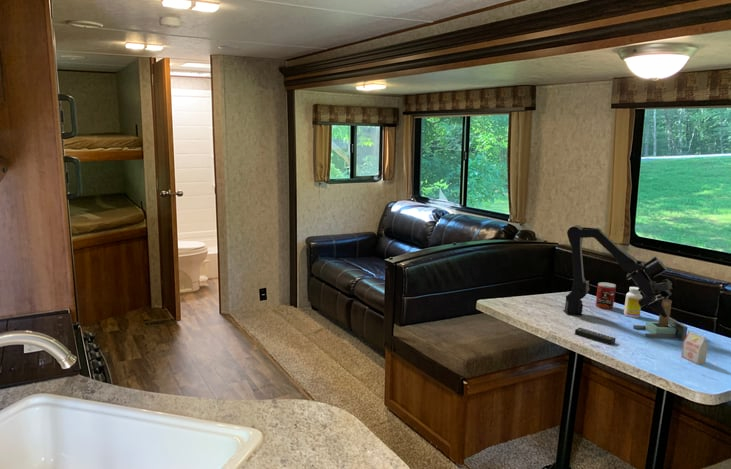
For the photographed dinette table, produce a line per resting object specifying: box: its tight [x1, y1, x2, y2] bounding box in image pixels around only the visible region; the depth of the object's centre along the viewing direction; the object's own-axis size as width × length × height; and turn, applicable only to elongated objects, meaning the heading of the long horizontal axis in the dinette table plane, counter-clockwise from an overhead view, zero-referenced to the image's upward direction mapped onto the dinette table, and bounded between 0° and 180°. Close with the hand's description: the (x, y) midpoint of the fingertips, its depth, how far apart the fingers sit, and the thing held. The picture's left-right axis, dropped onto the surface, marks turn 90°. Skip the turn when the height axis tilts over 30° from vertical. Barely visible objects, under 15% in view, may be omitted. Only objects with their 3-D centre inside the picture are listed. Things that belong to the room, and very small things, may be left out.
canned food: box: [595, 281, 617, 310], centre depth 260 cm, size 8×8×11 cm
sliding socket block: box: [644, 321, 676, 334], centre depth 226 cm, size 8×8×4 cm
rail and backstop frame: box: [632, 316, 688, 342], centre depth 226 cm, size 14×16×6 cm
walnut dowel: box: [657, 298, 673, 327], centre depth 225 cm, size 4×4×13 cm
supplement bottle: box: [623, 286, 643, 319], centre depth 248 cm, size 7×7×13 cm
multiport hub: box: [574, 327, 617, 346], centre depth 217 cm, size 4×14×2 cm, turn 44°
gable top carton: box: [680, 330, 708, 365], centre depth 199 cm, size 4×7×10 cm, turn 17°
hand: (668, 316), depth 224 cm, fingers closed on walnut dowel, 3 cm apart
